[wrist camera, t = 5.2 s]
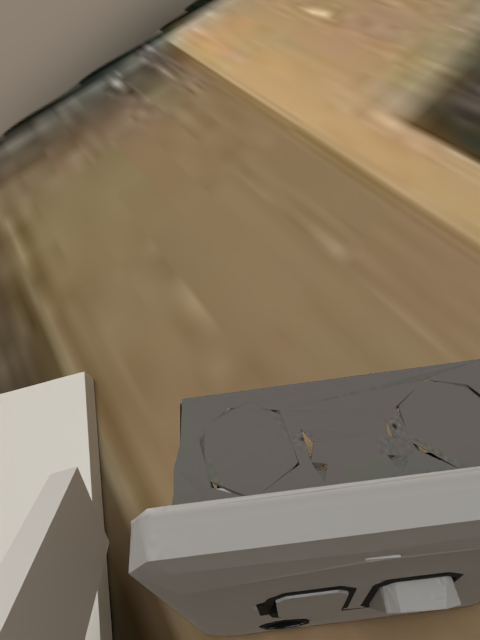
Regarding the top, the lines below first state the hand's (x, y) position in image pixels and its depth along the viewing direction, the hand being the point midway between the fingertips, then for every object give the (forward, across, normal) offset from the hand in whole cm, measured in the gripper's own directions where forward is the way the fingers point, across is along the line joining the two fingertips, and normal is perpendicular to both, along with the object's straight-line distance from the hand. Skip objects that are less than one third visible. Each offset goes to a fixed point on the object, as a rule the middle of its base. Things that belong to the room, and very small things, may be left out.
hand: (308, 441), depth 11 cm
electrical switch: (+2, 0, -5) cm, 5 cm away
